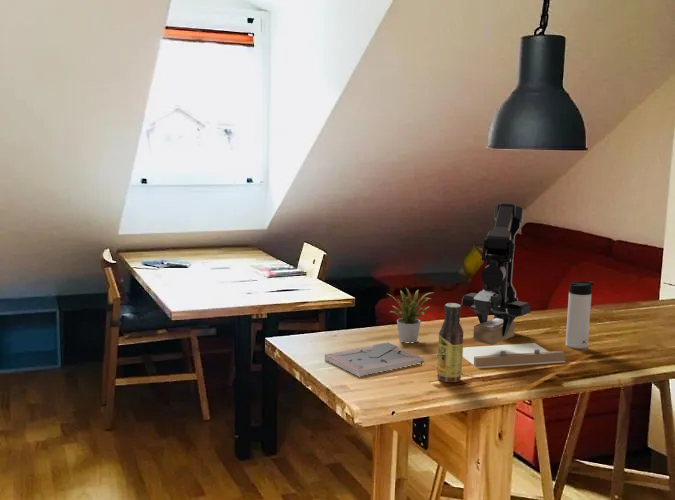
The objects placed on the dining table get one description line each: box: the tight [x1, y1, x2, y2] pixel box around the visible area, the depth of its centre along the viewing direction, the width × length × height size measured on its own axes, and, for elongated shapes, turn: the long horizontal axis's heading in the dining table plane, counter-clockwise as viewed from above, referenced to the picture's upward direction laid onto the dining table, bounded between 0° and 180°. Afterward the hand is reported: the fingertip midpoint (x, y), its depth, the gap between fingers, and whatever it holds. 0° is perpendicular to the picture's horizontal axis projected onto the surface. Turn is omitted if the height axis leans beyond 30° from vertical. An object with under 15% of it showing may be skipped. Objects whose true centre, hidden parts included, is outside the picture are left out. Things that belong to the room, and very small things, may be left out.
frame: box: [472, 317, 516, 346], centre depth 219 cm, size 6×12×5 cm, turn 139°
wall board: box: [462, 342, 567, 369], centre depth 218 cm, size 18×26×4 cm
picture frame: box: [324, 342, 425, 377], centre depth 213 cm, size 16×2×22 cm
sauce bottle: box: [436, 302, 464, 383], centre depth 197 cm, size 7×6×20 cm
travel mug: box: [565, 280, 594, 351], centre depth 226 cm, size 6×7×20 cm
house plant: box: [387, 287, 435, 343], centre depth 231 cm, size 14×14×16 cm
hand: (493, 333), depth 219 cm, fingers closed on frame, 6 cm apart
